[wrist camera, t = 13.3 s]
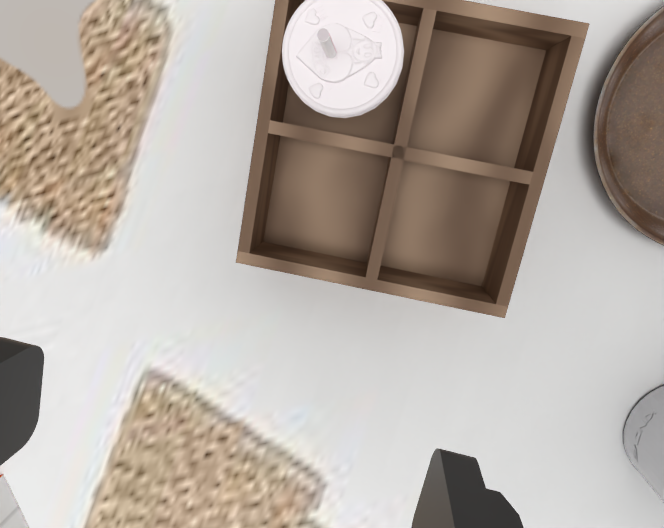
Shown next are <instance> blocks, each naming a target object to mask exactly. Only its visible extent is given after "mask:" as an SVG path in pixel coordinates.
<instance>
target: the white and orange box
mask: <svg viewBox="0 0 664 528" xmlns="http://www.w3.org/2000/svg"><path fill="white" fill-rule="evenodd" d="M0 528H29V526H28V524H27V522H26V520H25V518H24V515H23V513H22V511H21V509H20V507H19V505H18V503H17V501H16V499H15V497H14V495H13V493H12V491H11V489H10V487H9V485H8V483H7V481H6V479H5V476H4V474H3V475H0Z"/></svg>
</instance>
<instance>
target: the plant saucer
mask: <svg viewBox="0 0 664 528" xmlns="http://www.w3.org/2000/svg"><path fill="white" fill-rule="evenodd" d="M594 153H595V160H596V165H597V169H598V172H599V175H600V178H601V181H602V184H603V186H604V188H605V190H606V192H607V194H608V196H609V198H610V200H611V201H612V203H613V205H614V206H615V207H616V209H617V210H618V211H619V213H620V214H621V215H622V216H623V217H624V218H625V219H626V220H627V221H628V222H629V223H630V224H631V225H632V226H633V227H634V228H636V229H637V230H638V231H639V232H641V233H642V234H644V235H645V236H647V237H649V238H650V239H652V240H654V241H656V242H658V243H660V244H662V245H664V6H663V7H662V8H661V9H659V10H658V11H657V12H656V13H655V14H653V15H652V16H651V17H650V18H649V19H648V20H647V21H646V22H645V23H644V24H643V25H642V26H641V27H640V28H639V29H638V30H637V31H636V32H635V33H634V35H633V36H632V37H631V38H630V39H629V41H628V42H627V43H626V45H625V46H624V47H623V49H622V50H621V52H620V53H619V55H618V57H617V58H616V60H615V62H614V64H613V66H612V67H611V69H610V71H609V73H608V75H607V78H606V80H605V82H604V85H603V87H602V90H601V93H600V96H599V100H598V104H597V109H596V114H595V122H594Z"/></svg>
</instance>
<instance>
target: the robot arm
mask: <svg viewBox="0 0 664 528" xmlns="http://www.w3.org/2000/svg"><path fill="white" fill-rule="evenodd" d="M43 365H44V354H43V351H42V349H41V348H40V347H38V346H35V345H31V344H27V343H23V342H19V341H15V340H11V339H8V338H3V337H0V465H2V464H3V463H4V462H5V461H6V460H8V459H9V458H10V457H11V456H13V455H14V454H15V453H16V452H18V451H19V450H20V449H21V448H22V447H23V446H24V445H25V444H26V443H27V441H28V440H29V439H30V437H31V436H32V434H33V432H34V430H35V427H36V425H37V422H38V417H39V409H40V398H41V387H42V376H43ZM624 446H625V450H626V454H627V456H628V458H629V459H630V461H631V463H632V464H633V465H634V467H635V468H636V469H637V470H638V472H639V473H640V474H641V475H642V476H643V478H644V479H645V480H646V481H647V483H648V484H649V485H650V486H651V487H652V489H653V490H654V491H655V492H656V494H657V495H658V496H659V498H660V499H661V500H662V501H663V502H664V386H662V387H659V388H658V389H656V390H654V391H652V392H651V393H649V394H648V395H646V396H645V397H644V398H643V399H642V400H640V401H639V402H638V404H637V405H636V406H635V407H634V409H633V410H632V411H631V413H630V415H629V417H628V419H627V421H626V425H625V429H624ZM412 528H523V525H522V522H521V520H520V517H519V514H518V513H517V512H516V511H515V510H514V508H513V507H512V506H511V505H510V504H509V502H508V501H507V500H506V499H505V497H504V496H503V495H502V494H501V493H500V492H497V491H493V490H489V489H486V488H485V484H484V481H483V478H482V475H481V471H480V468H479V465H478V462H477V460H476V458H474V457H470V456H466V455H462V454H458V453H454V452H450V451H446V450H442V449H436V450H435V451H434V453H433V455H432V458H431V461H430V464H429V468H428V471H427V474H426V478H425V481H424V484H423V488H422V491H421V494H420V498H419V501H418V504H417V508H416V511H415V514H414V518H413V523H412Z"/></svg>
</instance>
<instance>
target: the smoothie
mask: <svg viewBox="0 0 664 528" xmlns="http://www.w3.org/2000/svg"><path fill="white" fill-rule="evenodd" d="M403 58H404V47H403V39H402V34H401V30H400V27H399V24H398V22H397V20H396V18H395V16H394V14H393V13H392V11H391V10H390V9H389V7H388V6H387V5H386V4H385V3H384V2H383V1H382V0H305V1H304V2H303V3H302V4H301V5H300V6H299V7H298V8H297V10H296V11H295V12H294V14H293V15H292V17H291V19H290V21H289V23H288V25H287V28H286V30H285V34H284V38H283V44H282V60H283V66H284V70H285V74H286V76H287V79H288V81H289V83H290V85H291V87H292V88H293V90H294V92H295V93H296V94H297V95H298V96H299V98H300V99H301V100H302V101H303V102H304V103H305V104H306V105H308V106H309V107H311V108H312V109H313V110H315V111H316V112H319V113H321V114H324V115H327V116H330V117H338V118H349V117H354V116H359V115H362V114H364V113H366V112H368V111H370V110H372V109H375V108H376V107H377V106H378V105H379V104H381V103H382V102H383V101H384V100H385V99H386V98H387V97H388V96H389V94H390V93H391V91H392V90H393V88H394V87H395V86H396V84H397V81H398V79H399V76H400V73H401V71H402V67H403Z"/></svg>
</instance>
